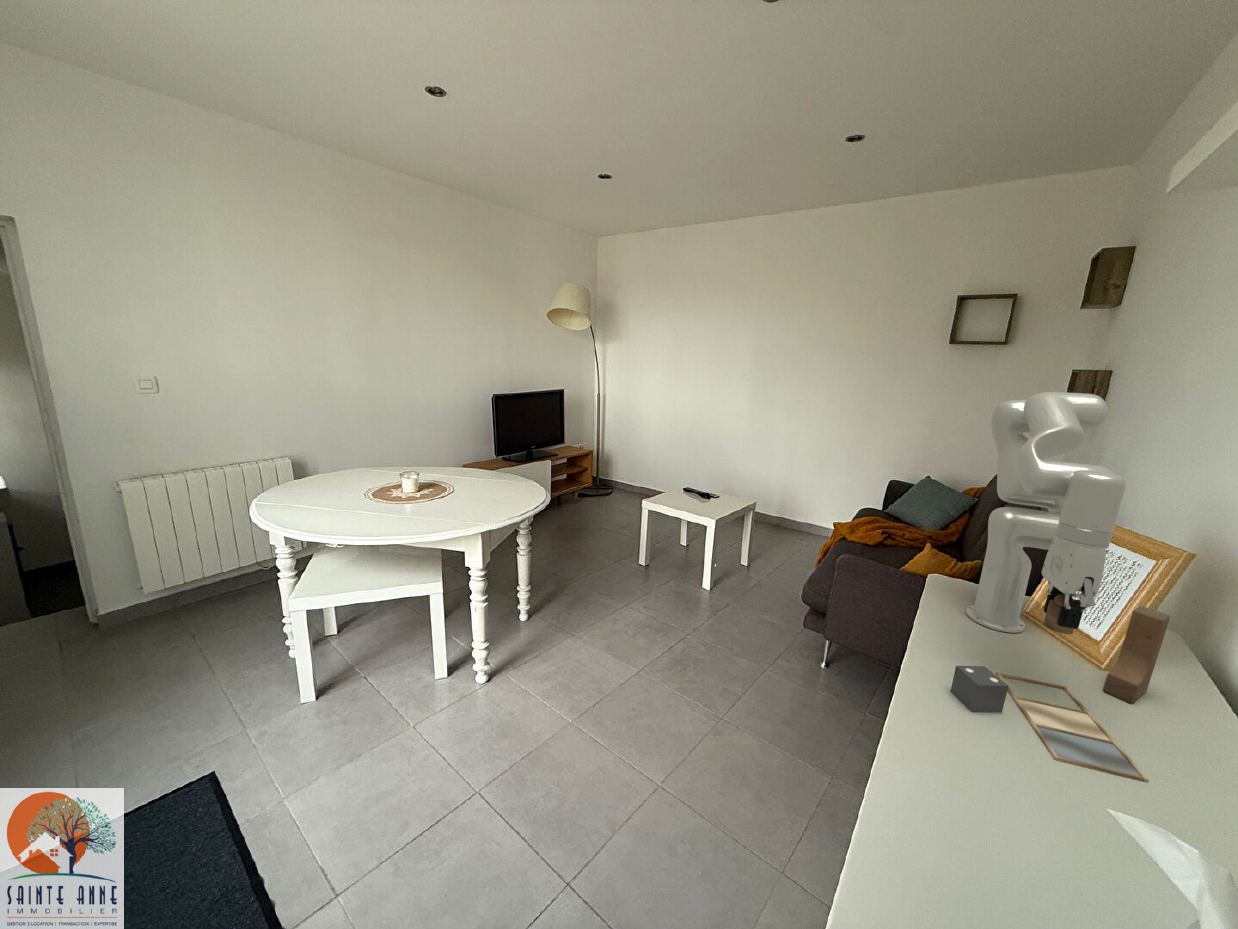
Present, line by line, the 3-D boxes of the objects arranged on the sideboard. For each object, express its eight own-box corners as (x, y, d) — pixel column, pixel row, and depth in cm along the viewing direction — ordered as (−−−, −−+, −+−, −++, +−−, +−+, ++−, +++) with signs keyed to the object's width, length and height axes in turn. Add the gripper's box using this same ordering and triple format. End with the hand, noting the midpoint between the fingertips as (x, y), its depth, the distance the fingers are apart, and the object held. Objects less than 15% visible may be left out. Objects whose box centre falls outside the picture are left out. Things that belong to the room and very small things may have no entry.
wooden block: (1131, 705, 96) (1156, 625, 92) (1102, 691, 100) (1124, 614, 96) (1146, 691, 100) (1171, 615, 97) (1117, 679, 104) (1140, 605, 100)
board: (995, 674, 104) (996, 672, 104) (1065, 688, 100) (1066, 686, 100) (1054, 759, 82) (1055, 757, 81) (1147, 782, 78) (1148, 780, 78)
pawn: (1039, 620, 98) (1047, 588, 96) (1065, 624, 96) (1074, 592, 95) (1050, 631, 94) (1059, 598, 92) (1077, 636, 92) (1087, 602, 91)
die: (950, 691, 98) (956, 665, 97) (978, 691, 98) (984, 665, 97) (972, 712, 92) (978, 684, 91) (1001, 712, 92) (1008, 685, 91)
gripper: (1037, 518, 100) (1018, 597, 104) (1084, 547, 84) (1059, 638, 88) (1081, 523, 97) (1060, 604, 101) (1138, 553, 82) (1110, 647, 86)
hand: (1060, 619), depth 95 cm, fingers closed on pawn, 4 cm apart
